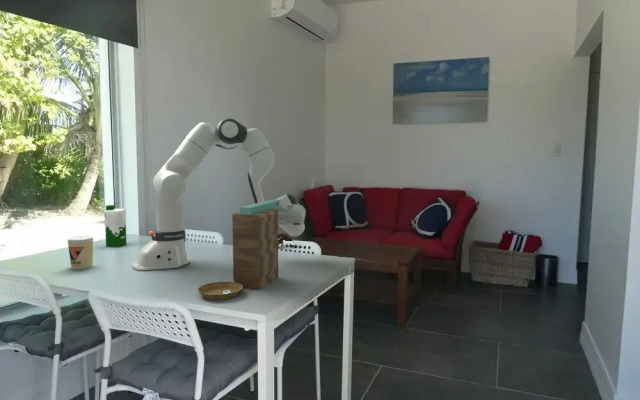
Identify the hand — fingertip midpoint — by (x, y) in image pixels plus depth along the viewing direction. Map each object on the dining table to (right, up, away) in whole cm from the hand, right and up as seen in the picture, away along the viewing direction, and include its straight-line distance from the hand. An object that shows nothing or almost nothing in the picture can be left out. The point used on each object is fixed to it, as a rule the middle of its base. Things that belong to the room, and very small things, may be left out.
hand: (272, 202), depth 180 cm
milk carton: (-83, -22, +52) cm, 100 cm away
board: (-3, -3, -9) cm, 9 cm away
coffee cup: (-79, -27, +10) cm, 84 cm away
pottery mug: (+1, -22, +51) cm, 56 cm away
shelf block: (-5, -29, -10) cm, 31 cm away
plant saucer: (-15, -31, -24) cm, 42 cm away
